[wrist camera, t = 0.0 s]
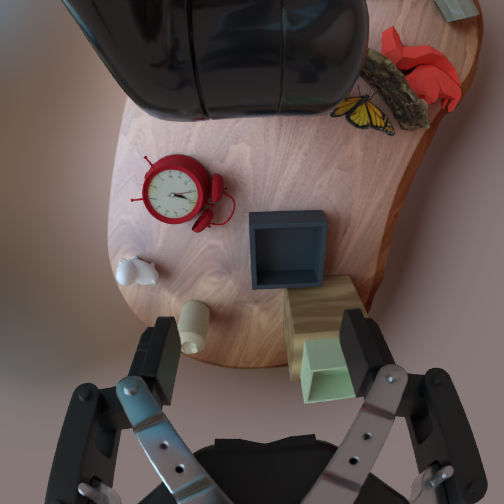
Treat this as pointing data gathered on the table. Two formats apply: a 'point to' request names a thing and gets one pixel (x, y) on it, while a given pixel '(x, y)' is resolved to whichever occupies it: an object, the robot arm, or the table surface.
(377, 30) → the table surface
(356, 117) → the butterfly
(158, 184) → the alarm clock
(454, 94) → the animal figurine
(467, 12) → the padlock
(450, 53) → the table surface
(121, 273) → the toy creature
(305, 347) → the pale bin
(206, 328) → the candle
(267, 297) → the table surface
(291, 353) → the stand
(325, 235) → the dark bin
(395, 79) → the bark log
